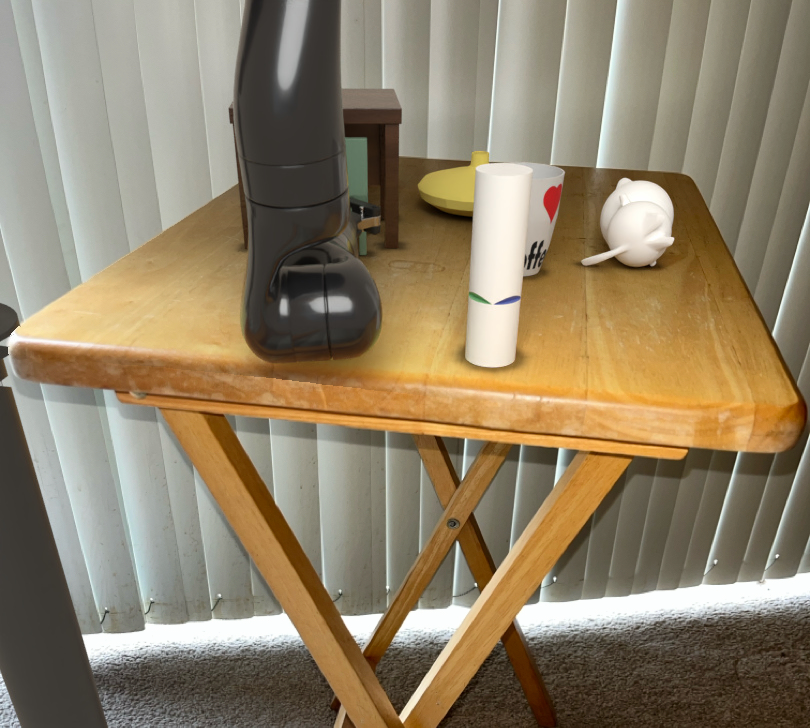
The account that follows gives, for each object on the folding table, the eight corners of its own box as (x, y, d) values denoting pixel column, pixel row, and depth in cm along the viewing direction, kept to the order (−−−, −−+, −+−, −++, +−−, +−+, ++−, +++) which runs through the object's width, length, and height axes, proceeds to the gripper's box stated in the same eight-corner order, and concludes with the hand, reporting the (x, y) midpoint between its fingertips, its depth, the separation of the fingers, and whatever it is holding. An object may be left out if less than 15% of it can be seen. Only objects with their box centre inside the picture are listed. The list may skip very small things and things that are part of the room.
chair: (368, 255, 94) (367, 139, 87) (278, 256, 93) (269, 139, 86) (366, 230, 102) (364, 121, 95) (283, 230, 102) (275, 121, 95)
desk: (400, 248, 96) (401, 108, 88) (242, 250, 95) (228, 107, 87) (393, 215, 108) (394, 88, 99) (252, 216, 107) (240, 88, 98)
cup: (496, 284, 87) (503, 181, 81) (467, 260, 93) (472, 164, 87) (566, 277, 89) (579, 176, 83) (533, 254, 95) (543, 159, 89)
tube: (467, 345, 74) (478, 161, 65) (516, 349, 73) (534, 164, 64) (462, 365, 70) (472, 174, 62) (513, 369, 70) (531, 177, 61)
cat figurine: (662, 183, 83) (652, 154, 93) (563, 236, 88) (564, 203, 97) (694, 260, 87) (682, 225, 97) (599, 307, 92) (596, 269, 101)
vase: (561, 219, 107) (568, 160, 103) (452, 233, 102) (455, 171, 97) (498, 191, 119) (502, 137, 115) (397, 202, 113) (397, 145, 109)
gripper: (389, 203, 74) (381, 159, 88) (238, 203, 74) (254, 159, 88) (389, 286, 79) (381, 232, 93) (247, 288, 78) (261, 233, 92)
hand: (320, 197), depth 90 cm, fingers closed
